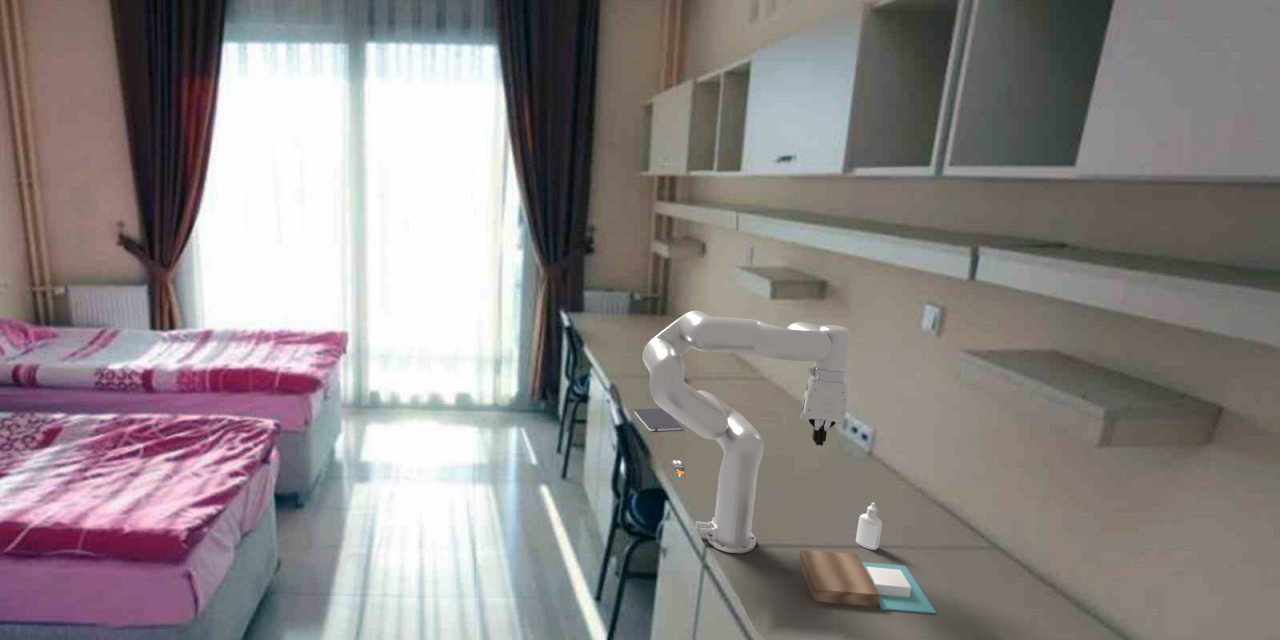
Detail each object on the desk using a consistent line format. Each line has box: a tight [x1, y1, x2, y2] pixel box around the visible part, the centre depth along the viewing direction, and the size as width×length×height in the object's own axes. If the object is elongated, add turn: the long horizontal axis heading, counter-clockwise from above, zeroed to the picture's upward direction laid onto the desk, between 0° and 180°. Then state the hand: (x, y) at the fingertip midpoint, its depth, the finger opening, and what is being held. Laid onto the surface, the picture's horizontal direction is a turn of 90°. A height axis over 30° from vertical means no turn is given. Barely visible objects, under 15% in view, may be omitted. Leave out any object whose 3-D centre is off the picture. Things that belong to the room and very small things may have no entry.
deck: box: [798, 549, 879, 607], centre depth 150 cm, size 14×16×3 cm
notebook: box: [634, 407, 683, 432], centre depth 248 cm, size 13×2×21 cm
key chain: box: [670, 459, 685, 478], centre depth 204 cm, size 13×4×2 cm, turn 8°
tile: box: [866, 567, 911, 597], centre depth 149 cm, size 8×7×2 cm
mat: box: [861, 561, 937, 615], centre depth 150 cm, size 12×18×1 cm, turn 179°
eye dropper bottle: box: [855, 502, 883, 551], centre depth 166 cm, size 4×6×12 cm
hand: (818, 443), depth 163 cm, fingers closed
